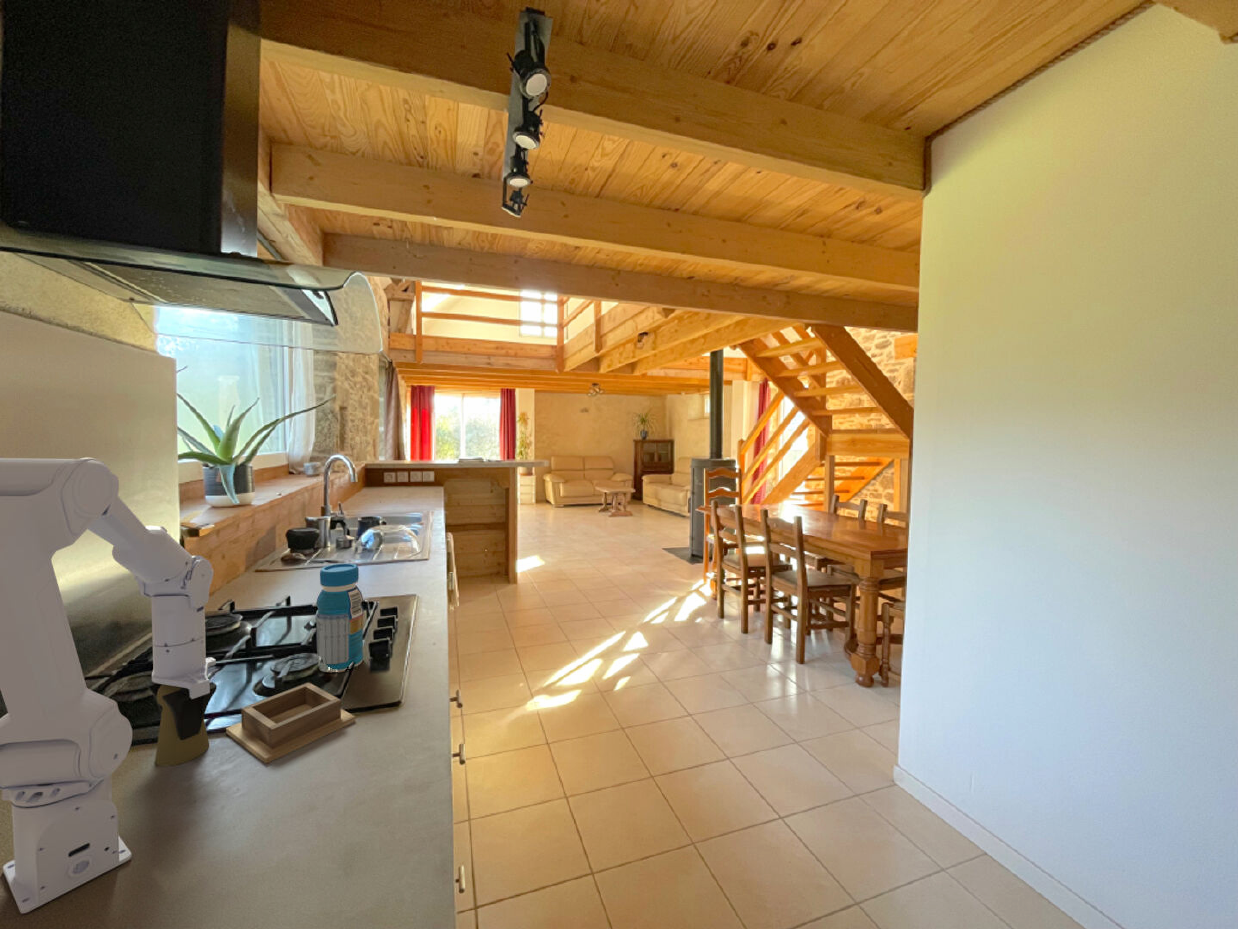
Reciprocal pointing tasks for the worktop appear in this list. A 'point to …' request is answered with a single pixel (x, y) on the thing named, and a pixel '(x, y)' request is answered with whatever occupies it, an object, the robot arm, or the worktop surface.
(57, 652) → the robot arm
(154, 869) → the worktop surface
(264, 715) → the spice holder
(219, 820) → the worktop surface
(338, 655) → the beverage bottle
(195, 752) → the cork
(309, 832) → the worktop surface
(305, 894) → the worktop surface
